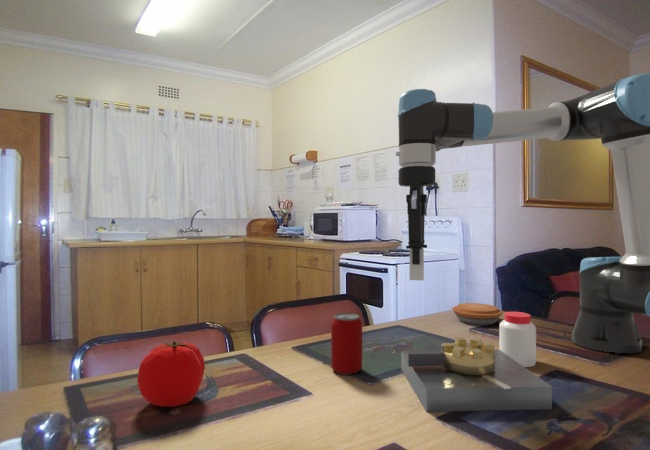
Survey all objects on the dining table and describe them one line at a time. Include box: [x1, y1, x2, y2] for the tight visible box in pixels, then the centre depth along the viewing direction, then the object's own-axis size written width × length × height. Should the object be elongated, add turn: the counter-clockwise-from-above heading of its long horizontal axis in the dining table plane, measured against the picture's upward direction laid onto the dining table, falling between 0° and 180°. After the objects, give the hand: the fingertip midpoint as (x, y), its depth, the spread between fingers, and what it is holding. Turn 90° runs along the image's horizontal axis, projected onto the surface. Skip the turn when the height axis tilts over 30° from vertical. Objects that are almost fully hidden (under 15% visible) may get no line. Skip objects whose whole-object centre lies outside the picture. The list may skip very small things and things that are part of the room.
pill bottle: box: [498, 311, 537, 368], centre depth 96 cm, size 8×8×11 cm
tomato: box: [136, 340, 206, 408], centre depth 76 cm, size 12×12×11 cm
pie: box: [451, 302, 504, 326], centre depth 135 cm, size 16×16×5 cm
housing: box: [400, 349, 553, 413], centre depth 81 cm, size 22×21×4 cm
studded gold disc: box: [405, 336, 496, 375], centre depth 82 cm, size 17×10×4 cm, turn 92°
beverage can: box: [330, 312, 363, 375], centre depth 91 cm, size 7×7×12 cm
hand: (416, 279), depth 87 cm, fingers closed
